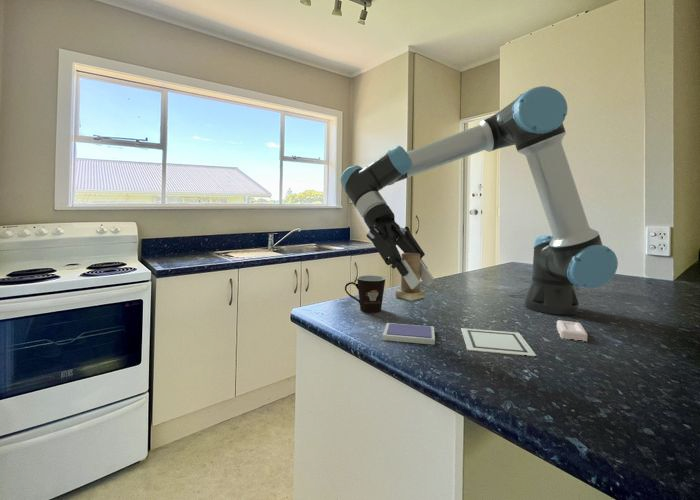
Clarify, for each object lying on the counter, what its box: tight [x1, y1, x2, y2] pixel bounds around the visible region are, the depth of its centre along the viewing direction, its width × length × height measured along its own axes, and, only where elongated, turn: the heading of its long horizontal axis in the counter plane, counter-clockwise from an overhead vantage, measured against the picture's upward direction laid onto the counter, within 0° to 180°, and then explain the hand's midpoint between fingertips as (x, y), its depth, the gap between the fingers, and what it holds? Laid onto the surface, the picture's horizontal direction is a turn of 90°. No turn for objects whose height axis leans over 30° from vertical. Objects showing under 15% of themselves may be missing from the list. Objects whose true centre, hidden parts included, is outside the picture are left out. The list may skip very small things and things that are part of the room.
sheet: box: [460, 327, 537, 357], centre depth 81 cm, size 14×14×1 cm
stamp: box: [395, 252, 426, 303], centre depth 82 cm, size 5×5×11 cm
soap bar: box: [556, 319, 588, 342], centre depth 86 cm, size 5×9×2 cm, turn 155°
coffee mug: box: [344, 274, 386, 314], centre depth 105 cm, size 12×9×10 cm
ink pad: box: [382, 322, 436, 346], centre depth 84 cm, size 12×9×1 cm
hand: (422, 284), depth 79 cm, fingers closed on stamp, 4 cm apart
